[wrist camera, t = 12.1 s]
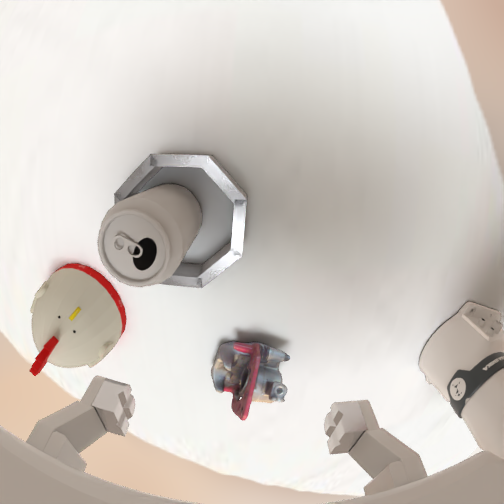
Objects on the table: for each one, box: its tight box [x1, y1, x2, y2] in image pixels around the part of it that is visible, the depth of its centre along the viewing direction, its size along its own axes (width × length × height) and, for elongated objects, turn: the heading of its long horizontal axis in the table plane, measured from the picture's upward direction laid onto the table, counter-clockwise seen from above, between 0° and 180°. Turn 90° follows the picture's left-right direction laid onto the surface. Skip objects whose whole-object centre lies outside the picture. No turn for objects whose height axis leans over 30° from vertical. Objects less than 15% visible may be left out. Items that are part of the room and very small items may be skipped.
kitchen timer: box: [30, 264, 126, 376], centre depth 28 cm, size 14×14×15 cm
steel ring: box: [114, 154, 247, 288], centre depth 29 cm, size 14×14×4 cm
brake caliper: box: [211, 341, 290, 420], centre depth 34 cm, size 11×11×12 cm
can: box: [98, 184, 202, 287], centre depth 25 cm, size 8×8×12 cm
